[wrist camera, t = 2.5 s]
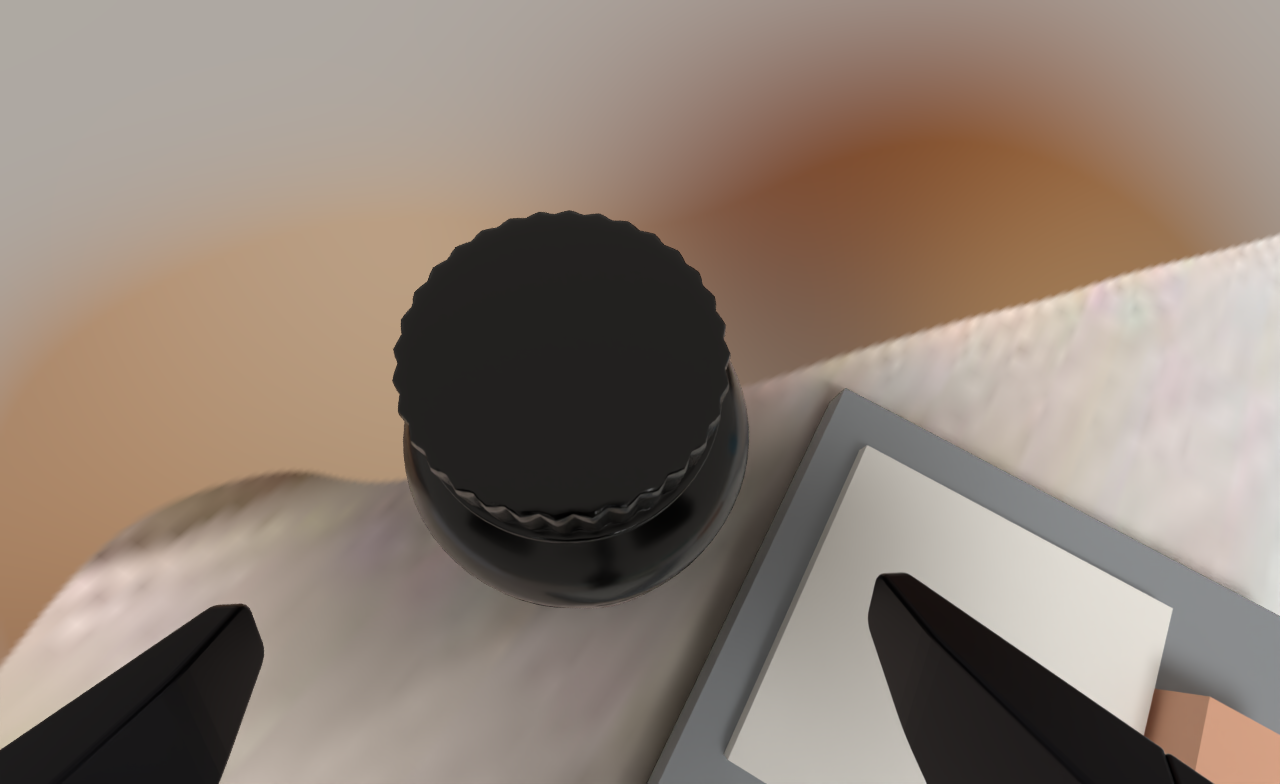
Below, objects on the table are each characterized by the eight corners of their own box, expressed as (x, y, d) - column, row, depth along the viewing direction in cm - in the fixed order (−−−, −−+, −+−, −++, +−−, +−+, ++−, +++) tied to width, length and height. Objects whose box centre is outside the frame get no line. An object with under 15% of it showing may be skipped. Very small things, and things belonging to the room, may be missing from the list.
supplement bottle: (628, 364, 21) (654, 91, 10) (736, 534, 20) (915, 434, 8) (447, 460, 20) (241, 266, 9) (546, 655, 18) (450, 731, 7)
